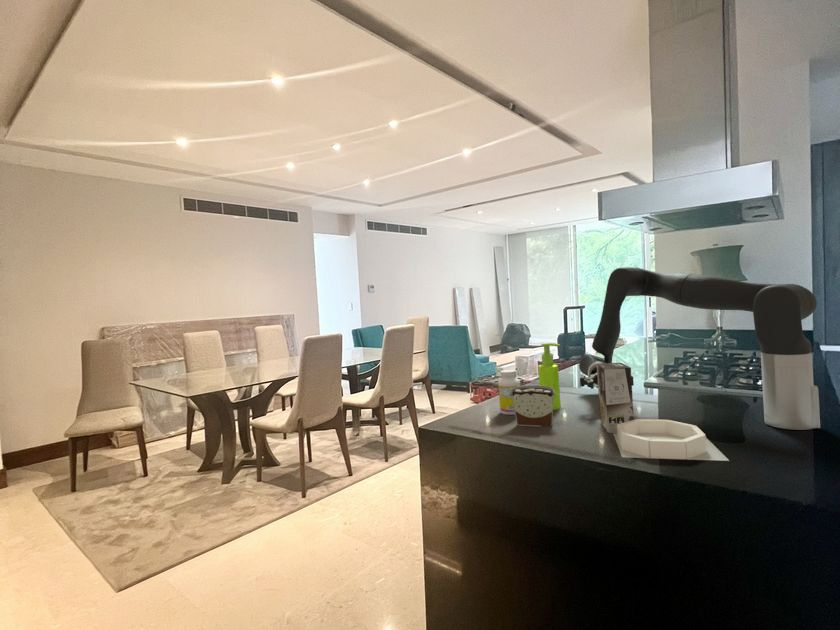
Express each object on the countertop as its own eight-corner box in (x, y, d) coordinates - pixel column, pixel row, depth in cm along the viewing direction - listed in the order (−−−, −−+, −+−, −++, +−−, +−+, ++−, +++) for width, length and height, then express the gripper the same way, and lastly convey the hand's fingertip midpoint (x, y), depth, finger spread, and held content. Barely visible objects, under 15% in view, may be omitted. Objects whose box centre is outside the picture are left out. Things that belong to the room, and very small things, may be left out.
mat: (703, 436, 99) (703, 435, 99) (729, 462, 84) (729, 460, 84) (613, 435, 105) (613, 433, 105) (622, 458, 90) (622, 457, 90)
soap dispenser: (561, 410, 130) (556, 344, 130) (538, 409, 134) (534, 344, 134) (566, 406, 135) (561, 342, 135) (544, 404, 139) (539, 342, 138)
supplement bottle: (508, 408, 137) (505, 368, 137) (526, 411, 133) (523, 369, 132) (495, 413, 133) (492, 371, 133) (514, 416, 128) (510, 373, 128)
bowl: (691, 434, 100) (690, 419, 100) (714, 460, 85) (713, 442, 85) (615, 433, 105) (614, 419, 105) (624, 457, 90) (623, 440, 90)
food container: (561, 421, 120) (558, 385, 120) (558, 427, 114) (555, 389, 114) (516, 419, 125) (514, 384, 125) (511, 425, 120) (509, 389, 119)
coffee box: (636, 433, 105) (631, 367, 104) (607, 434, 106) (603, 368, 106) (626, 423, 114) (622, 361, 113) (599, 423, 115) (595, 363, 114)
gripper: (576, 363, 137) (580, 372, 121) (625, 361, 133) (636, 370, 117) (578, 387, 137) (582, 398, 122) (627, 386, 133) (638, 398, 118)
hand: (608, 384), depth 120 cm, fingers open, 8 cm apart
